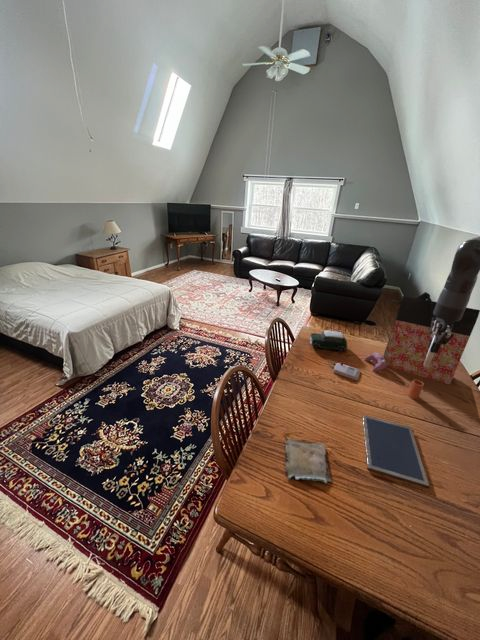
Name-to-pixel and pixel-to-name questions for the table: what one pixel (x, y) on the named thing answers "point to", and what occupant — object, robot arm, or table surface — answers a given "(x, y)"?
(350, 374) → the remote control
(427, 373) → the gift bag
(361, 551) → the table surface
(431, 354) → the stylus
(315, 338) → the miniature car
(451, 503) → the table surface
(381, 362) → the video game controller
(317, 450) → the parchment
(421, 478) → the tablet
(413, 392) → the pen cup
